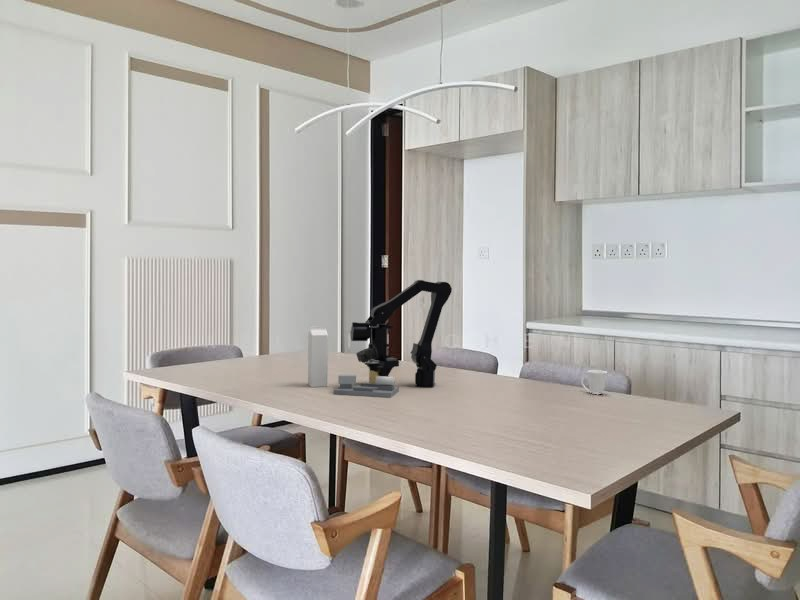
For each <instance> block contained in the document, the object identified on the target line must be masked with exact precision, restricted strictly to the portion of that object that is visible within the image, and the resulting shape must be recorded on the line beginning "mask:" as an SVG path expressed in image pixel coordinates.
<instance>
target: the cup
mask: <svg viewBox="0 0 800 600" xmlns="http://www.w3.org/2000/svg"><path fill="white" fill-rule="evenodd" d="M608 373H609V372H608V371H605V370H600V369H591V370H590V369H589V370H587V371H586V372H584V373H582V375H581V379H580V381H581V382H580V384H581V386H582V387H583V389H585V391H586V392H588V393H589V392H601V393H602V394H603V395H604V393H603V392H604V391H605V388H606V384H607V379H608V378H607V377H608ZM586 375H587V380H588V386H589V389H588V388H587V386H585V384H584V377H585V376H586ZM592 394H594V393H592ZM592 394H591V395H592Z"/></svg>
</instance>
